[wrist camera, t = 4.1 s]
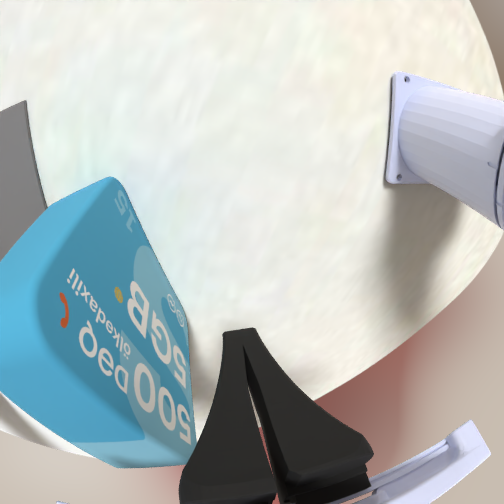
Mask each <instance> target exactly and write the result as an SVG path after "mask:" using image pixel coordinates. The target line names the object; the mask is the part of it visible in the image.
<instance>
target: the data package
mask: <svg viewBox="0 0 504 504" xmlns="http://www.w3.org/2000/svg"><path fill="white" fill-rule="evenodd" d="M0 391H1V392H2V393H3V394H4V395H5V396H6V397H7V398H9V399H10V400H11V401H12V402H13V403H15V404H16V405H17V406H18V407H20V408H21V409H22V410H23V411H25V412H26V413H27V414H29V415H30V416H31V417H33V418H34V419H35V420H37V421H38V422H39V423H41V424H42V425H44V426H45V427H47V428H48V429H49V430H51V431H52V432H54V433H55V434H57V435H59V436H60V437H62V438H63V439H65V440H66V441H68V442H70V443H71V444H73V445H75V446H76V447H78V448H80V449H81V450H83V451H85V452H87V453H89V454H90V455H92V456H94V457H96V458H98V459H100V460H102V461H104V462H106V463H108V464H110V465H112V466H114V467H116V468H149V467H164V466H176V465H185V464H187V462H188V460H189V458H190V456H191V455H192V453H193V451H194V449H195V447H196V444H197V441H196V432H195V422H194V412H193V401H192V389H191V376H190V361H189V343H188V326H187V321H186V317H185V314H184V311H183V308H182V306H181V304H180V302H179V300H178V298H177V296H176V294H175V293H174V291H173V289H172V287H171V285H170V283H169V281H168V279H167V277H166V276H165V274H164V272H163V270H162V268H161V266H160V264H159V262H158V260H157V258H156V256H155V254H154V252H153V250H152V248H151V246H150V244H149V242H148V240H147V237H146V235H145V233H144V231H143V229H142V227H141V225H140V223H139V220H138V218H137V216H136V214H135V212H134V209H133V207H132V205H131V203H130V200H129V198H128V196H127V194H126V191H125V189H124V188H123V186H122V185H121V183H120V182H119V181H118V180H117V179H116V178H114V177H107V178H104V179H102V180H100V181H98V182H96V183H93V184H91V185H89V186H87V187H85V188H83V189H81V190H79V191H77V192H75V193H73V194H71V195H69V196H67V197H65V198H63V199H61V200H59V201H57V202H55V203H53V204H52V205H50V206H49V207H48V208H47V209H46V210H45V211H44V212H43V213H42V214H41V215H40V216H39V218H38V219H37V220H36V221H35V222H34V223H33V224H32V225H31V226H30V227H29V228H28V229H27V231H26V232H25V233H24V234H23V235H22V236H21V237H20V239H19V240H18V241H17V242H16V243H15V244H14V246H13V247H12V248H11V249H10V250H9V252H8V253H7V254H6V255H5V257H4V258H3V259H2V260H1V262H0Z"/></svg>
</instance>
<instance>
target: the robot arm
mask: <svg viewBox="0 0 504 504" xmlns="http://www.w3.org/2000/svg"><path fill="white" fill-rule="evenodd" d="M405 77H406V82H405V81H404V78H405ZM398 174H399V176H398V178H396V177H397V175H398ZM386 180H387V181H388V182H389V183H391V184H433V185H434V186H436V187H438V188H440V189H441V190H443V191H445V192H446V193H448V194H450V195H452V196H453V197H455V198H456V199H458V200H460V201H461V202H463V203H464V204H466V205H468V206H469V207H471V208H472V209H474V210H475V211H477V212H478V213H480V214H481V215H483V216H484V217H486V218H487V219H489V220H490V221H491V222H493V223H494V224H496V225H497V226H498V227H500V228H501V229H503V230H504V101H501V100H498V99H494V98H490V97H486V96H482V95H478V94H474V93H469V92H465V91H462V90H459V89H457V88H454V87H451V86H448V85H445V84H443V83H440V82H436V81H433V80H430V79H427V78H424V77H420V76H417V75H413V74H409V73H406V72H402V71H396V72H394V74H393V83H392V111H391V127H390V140H389V151H388V160H387V169H386ZM222 335H223V353H222V362H221V368H220V375H219V379H218V384H217V388H216V392H215V396H214V400H213V403H212V406H211V409H210V412H209V415H208V418H207V421H206V423H205V426H204V429H203V431H202V433H201V436H200V438H199V440H198V442H197V444H196V447H195V449H194V451H193V453H192V455H191V456H190V458H189V460H188V462H187V464H186V466H185V467H184V469H183V471H182V475H181V479H180V484H179V500H180V504H272V502H273V500H275V497H276V493H278V498H279V502H280V504H340V503H343V502H346V501H348V500H351V499H354V498H356V497H359V496H361V495H364V494H366V493H369V492H371V491H373V490H374V491H373V492H372V495H371V496H369V497H367V498H365V499H362V500H360V501H357V502H355V503H353V504H430V503H431V502H433V501H434V500H435V499H437V498H438V497H439V496H441V495H442V494H444V493H445V492H446V491H448V490H449V489H450V488H452V487H453V486H454V485H455V484H457V483H458V482H459V481H460V480H462V479H463V478H464V477H465V476H466V475H467V474H469V473H470V472H471V471H472V470H474V469H475V468H476V467H477V466H478V465H480V464H481V463H482V462H483V461H484V460H485V459H487V458H488V457H489V456H490V455H491V453H490V451H489V449H488V447H487V445H486V443H485V442H484V440H483V439H482V436H481V435H480V433H479V431H478V429H477V428H476V426H475V424H474V423H473V421H472V420H471V419H470V420H469V421H467V422H466V423H464V424H463V425H462V426H460V427H459V428H457V429H456V430H454V431H453V432H452V433H451V434H449V435H448V436H447V437H446V438H445V439H444V440H442V441H440V442H439V443H437V444H435V445H434V446H432V447H430V448H429V449H427V450H425V451H424V452H422V453H420V454H418V455H417V456H415V457H413V458H411V459H409V460H407V461H405V462H403V463H401V464H399V465H397V466H395V467H393V468H391V469H389V470H387V471H385V472H382V473H380V474H378V475H376V476H373V477H371V478H369V479H368V476H367V474H366V472H367V468H366V465H365V463H366V462H368V461H369V460H370V459H371V458H372V457H373V455H374V453H373V450H372V448H371V446H370V445H369V443H368V442H367V440H366V439H365V437H364V436H363V435H362V434H360V433H359V432H357V431H355V430H353V429H352V428H350V427H348V426H346V425H345V424H343V423H342V422H340V421H339V420H337V419H336V418H334V417H333V416H331V415H330V414H329V413H328V412H326V411H325V410H324V409H322V408H321V407H320V406H318V405H317V404H316V403H315V402H314V401H313V400H311V399H310V398H309V397H308V396H307V395H306V394H305V393H304V392H303V391H302V390H301V389H300V388H299V387H298V386H297V385H296V384H295V383H294V382H293V381H292V380H291V379H290V378H289V377H288V376H287V374H286V373H285V372H284V371H283V370H282V369H281V367H280V366H279V365H278V363H277V362H276V361H275V359H274V358H273V357H272V355H271V354H270V353H269V351H268V350H267V348H266V347H265V345H264V343H263V342H262V340H261V338H260V337H259V335H258V333H257V331H256V329H255V328H246V329H240V330H233V331H227V332H224V333H223V334H222ZM248 387H249V390H250V393H251V396H252V399H253V402H254V405H255V408H256V411H257V414H258V416H259V419H260V423H261V426H262V430H263V434H264V438H265V442H266V447H267V451H268V455H269V459H270V464H271V468H272V471H271V468H270V465H269V462H268V459H267V455H266V452H265V449H264V446H263V442H262V439H261V436H260V432H259V428H258V425H257V421H256V417H255V414H254V410H253V406H252V402H251V398H250V394H249V390H248ZM272 472H273V474H272ZM273 476H274V477H273ZM56 503H57V504H68V503H64V502H60V501H57V502H56Z"/></svg>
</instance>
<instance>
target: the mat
mask: <svg viewBox="0 0 504 504" xmlns="http://www.w3.org/2000/svg"><path fill="white" fill-rule="evenodd" d="M46 209H47V206H46V202H45V199H44V195H43V191H42V187H41V184H40V179H39V175H38V171H37V166H36V162H35V157H34V152H33V147H32V141H31V135H30V129H29V122H28V114H27V105H26V101H22V102H20V103H18V104H15V105H13V106H11V107H9V108H7V109H5V110H3V111H1V112H0V262H1V260H2V259H3V258H4V257H5V255H6V254H7V253H8V252H9V250H10V249H11V248H12V247H13V246H14V244H15V243H16V242H17V241H18V240H19V239H20V237H21V236H22V235H23V234H24V233H25V232H26V231H27V229H28V228H29V227H30V226H31V225H32V224H33V223H34V222H35V221H36V220H37V219H38V218H39V216H40V215H41V214H42V213H43V212H44V211H45V210H46Z"/></svg>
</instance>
